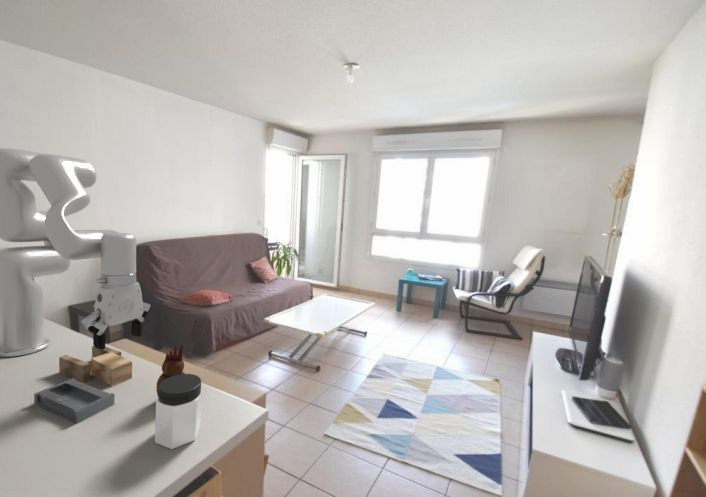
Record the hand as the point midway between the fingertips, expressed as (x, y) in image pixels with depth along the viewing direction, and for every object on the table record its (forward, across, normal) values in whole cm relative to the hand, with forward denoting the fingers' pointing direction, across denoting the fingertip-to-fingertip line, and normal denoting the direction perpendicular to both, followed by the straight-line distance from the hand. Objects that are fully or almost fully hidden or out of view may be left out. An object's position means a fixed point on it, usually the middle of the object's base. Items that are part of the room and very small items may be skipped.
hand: (119, 341), depth 86 cm
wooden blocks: (+11, 0, +11) cm, 15 cm away
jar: (+12, -8, -31) cm, 34 cm away
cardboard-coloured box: (+11, 0, +3) cm, 12 cm away
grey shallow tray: (+11, -12, -2) cm, 16 cm away
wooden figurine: (+12, 0, -20) cm, 23 cm away
